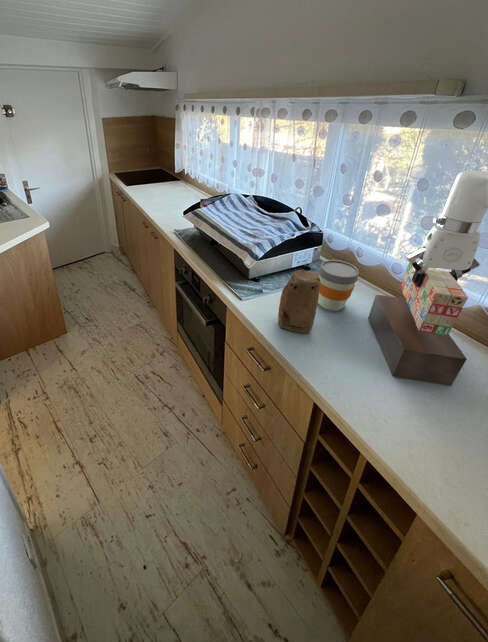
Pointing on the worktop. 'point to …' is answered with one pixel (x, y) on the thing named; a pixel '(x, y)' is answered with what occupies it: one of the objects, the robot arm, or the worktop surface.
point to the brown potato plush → (299, 301)
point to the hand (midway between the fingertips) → (431, 285)
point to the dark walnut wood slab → (413, 344)
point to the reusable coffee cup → (336, 283)
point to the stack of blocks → (434, 300)
